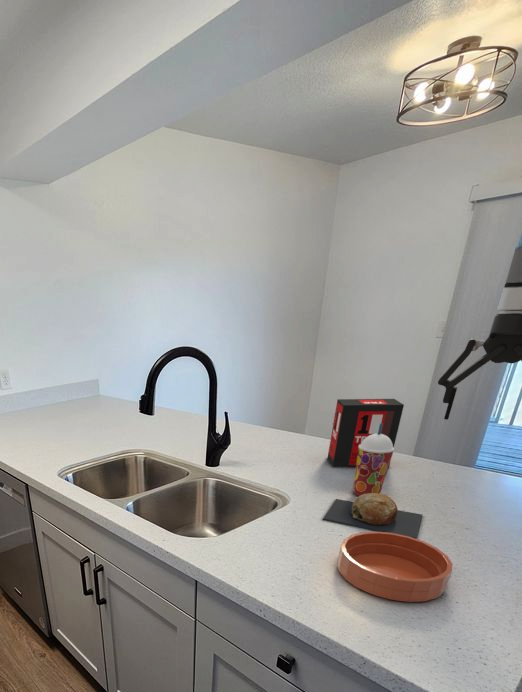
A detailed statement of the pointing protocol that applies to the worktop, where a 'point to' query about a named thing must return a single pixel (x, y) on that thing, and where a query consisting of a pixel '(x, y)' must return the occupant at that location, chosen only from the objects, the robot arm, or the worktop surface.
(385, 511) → the bread roll
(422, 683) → the worktop surface
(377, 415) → the cleaning product box
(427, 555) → the bowl
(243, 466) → the worktop surface
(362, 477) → the smoothie
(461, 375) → the robot arm
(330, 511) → the placemat
